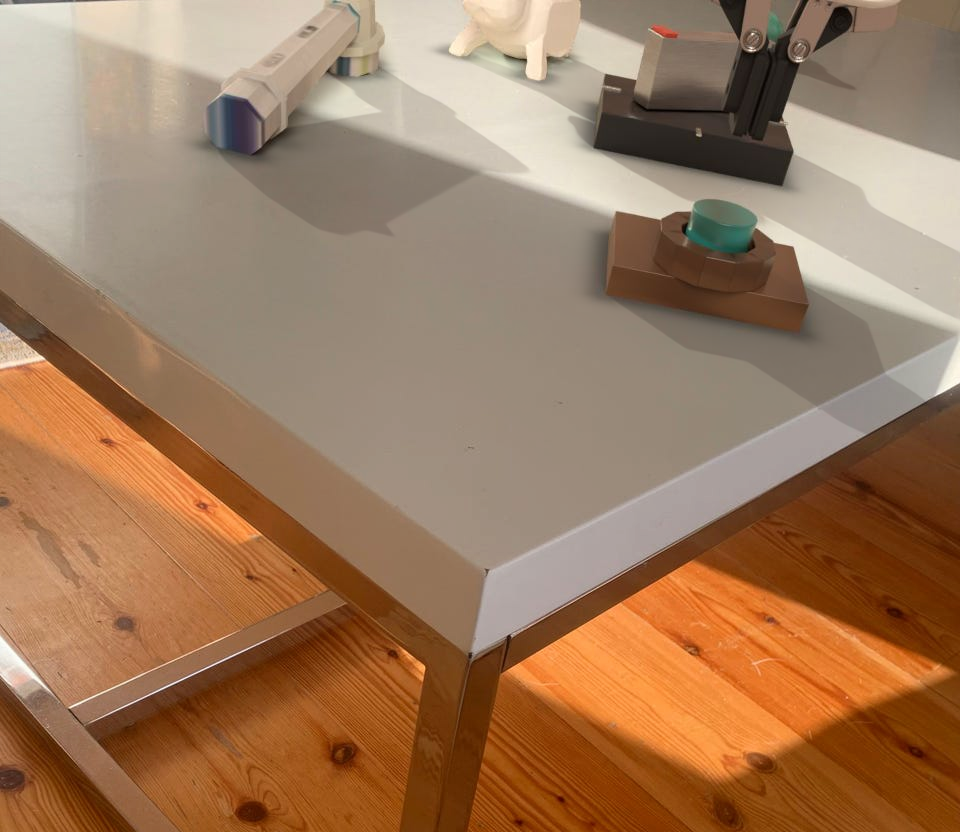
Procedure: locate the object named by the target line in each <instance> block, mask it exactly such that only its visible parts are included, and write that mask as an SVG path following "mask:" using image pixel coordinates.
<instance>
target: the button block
mask: <svg viewBox="0 0 960 832" xmlns="http://www.w3.org/2000/svg"><path fill="white" fill-rule="evenodd" d="M691 211H692V210H689V211H687V210H686V211H684V210H683V211H673V212H672V213H670V214H668V215H666V216H664V217H662V218H661V219H659V218H655V217H649V216H645V215H638V214H634V213H628V212H624V211H619V210H615V212H614V215H613V220H612V222H611V223H612V224H611V227H610V231H609V235H608V244H607V245H608V246H607V259H606V260H607V262H606V281H605V283H606V284H605V296H609V297H615V298H621V299H625V300H631V301H635V302H641V303H646V304H651V305H656V306H660V307H664V308H670V309H675V310H680V311H685V312H691V313H695V314H700V315H705V316H711V317H714V318H719V319H726V320H730V321H736V322H741V323H746V324H750V325H755V326H760V327H765V328H769V329H775V330H779V331H785V332H790V333H795V334H799V332H800V329H801V327H802V325H803V322H804V319H805V316H806V314H807V311H808V309H809V306H810V303H809V299H808V295H807V291H806V288H805V284H804V280H803V276H802V273H801V269H800V264H799V261H798V258H797V254H796V250H795V247H794V246H793V245H788V244H782V243H778V242H775V241H774V240H773V239H771V238H770V237H769V236H768V235H766V234H765V233H764V232H763V231H761V230H760V229H758V228H757V227H755V230H754V233H753V237H752V240H751V243H750V246H749V249H748V251H747V252H746V253H728V252H723V251H718V250H713V249H710V248H707V247H705V246H703V245H700V244H698V243H696V242H693V241H692V240H690V239H689V238H688V237H687V236H686V235H685V232H686V229H687V225H688V222H689V218H690V215H691Z"/></svg>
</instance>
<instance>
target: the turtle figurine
mask: <svg viewBox="0 0 960 832" xmlns="http://www.w3.org/2000/svg"><path fill="white" fill-rule="evenodd" d="M784 30H785V29H784V26H783V23H782V21H781V19H780V18H779V16H777V15H776V14H775V13H774V12H772V11H770V16H769V22H768V28H767V37H768V39H769V40H771V41H773V42H775V43H776V40H777V37H778V36H779V35H781V34H782V33H783V32H784Z"/></svg>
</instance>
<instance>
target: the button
mask: <svg viewBox="0 0 960 832" xmlns="http://www.w3.org/2000/svg"><path fill="white" fill-rule="evenodd" d="M690 211H691V215H690V218H689V222H688V225H687V229H686V232H685V235H686V236H687V237H688V238H689V239H690V240H692V241H693V242H696V243H698V244H700V245H703V246H705V247H707V248H710V249H713V250H718V251H723V252H728V253H746V252H747V251H748V249H749V246H750V243H751V240H752V237H753V233H754V230H755V228H757V224H758V217H757V215H756V214H755V213H754V212H753V211H751V210H750V209H748V208H747V207H745V206H742V205H739V204H737V203H735V202H731V201H727V200H723V199H715V198H703V199H699V200H697V201H695V202H694V203H693V205H692V207H691V210H690Z"/></svg>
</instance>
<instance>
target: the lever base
mask: <svg viewBox="0 0 960 832" xmlns="http://www.w3.org/2000/svg"><path fill="white" fill-rule="evenodd" d="M636 81H637V79H634V78H628V77H624V76H620V75H614V74H609V73H605V74H604V77H603V82H602V85H601V90H600V96H599V98H598V105H597V110H596V119H595V128H594V141H593V149H596V150H600V151H605V152H609V153H614V154H618V155H619V154H620V155H625V156H630V157H635V158H639V159H645V160H648V161H649V160H650V161H654V162H659V163H665V164H669V165H670V164H671V165H674V166H679V167H683V168H689V169H695V170H698V171H704V172H708V173H714V174H718V175H724V176H729V177H732V178H738V179H743V180H747V181H752V182H753V181H754V182H758V183H763V184H768V185H772V186H779V187H783V186H784V185H783V184H784V182H785V179H786V176H787V173H788V170H789V168H790V164H791V161H792V159H793V156H794V152H795V151H794V148H793V145H792V144H793V143H792V141H791V137H790V135H789V132H788V128H787V126H788V125H789V123H788V122H787V121H785V119H784V117H783V116H784V115H782V118H781V120H780V122H779V123H776V122H771V121H769V123H768V126H767V130H766V133H765V136H764V138H763V140H762V142H761V141H757V140H752V138H751V136H749V135H748V132H747V134H746V135H743V136H742V137H738V136H734V135H732V134H731V130H730V125H729V114H730V112H725V111H700V110H655V109H646V108H644V107H643V106H641V105H640V104H639V103H637V102H636V101H634V100H633V99H632V97H633V93H634V89H635V85H636Z"/></svg>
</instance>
